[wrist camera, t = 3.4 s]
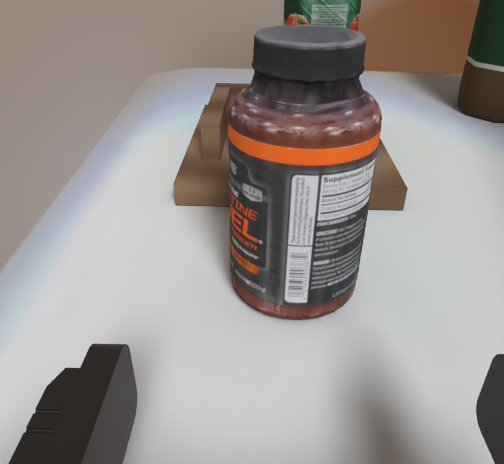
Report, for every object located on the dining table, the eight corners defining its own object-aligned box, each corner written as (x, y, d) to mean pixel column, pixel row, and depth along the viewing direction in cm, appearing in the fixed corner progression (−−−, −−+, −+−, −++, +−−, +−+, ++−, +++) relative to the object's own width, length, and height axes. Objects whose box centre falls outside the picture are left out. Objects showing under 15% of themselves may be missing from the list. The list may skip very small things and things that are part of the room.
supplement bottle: (212, 264, 24) (202, 24, 18) (314, 240, 26) (335, 16, 20) (262, 342, 20) (270, 53, 14) (381, 305, 22) (433, 40, 16)
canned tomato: (366, 91, 52) (381, -22, 47) (311, 102, 49) (320, -20, 43) (319, 76, 58) (327, -27, 52) (266, 85, 54) (269, -25, 48)
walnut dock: (206, 121, 43) (203, 76, 41) (361, 124, 43) (367, 78, 41) (175, 204, 30) (170, 143, 27) (402, 210, 29) (415, 148, 27)
